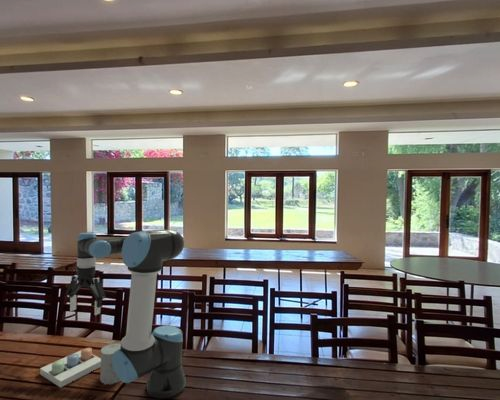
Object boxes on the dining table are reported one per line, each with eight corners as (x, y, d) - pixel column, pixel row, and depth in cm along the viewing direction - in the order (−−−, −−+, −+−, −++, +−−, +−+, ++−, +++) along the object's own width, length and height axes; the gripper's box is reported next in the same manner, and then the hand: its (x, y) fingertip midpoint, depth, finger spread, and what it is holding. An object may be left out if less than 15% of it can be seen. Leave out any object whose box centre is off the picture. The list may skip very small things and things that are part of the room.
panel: (103, 365, 130) (103, 359, 130) (60, 387, 114) (60, 381, 114) (82, 354, 138) (82, 349, 138) (40, 374, 122) (40, 368, 122)
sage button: (66, 372, 121) (66, 362, 121) (55, 378, 118) (55, 367, 117) (60, 369, 124) (60, 359, 123) (49, 374, 120) (49, 364, 120)
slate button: (80, 365, 127) (80, 355, 127) (70, 370, 123) (70, 360, 123) (75, 362, 129) (75, 352, 129) (64, 367, 125) (64, 357, 125)
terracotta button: (93, 359, 132) (94, 349, 132) (84, 364, 128) (84, 353, 128) (88, 356, 134) (88, 346, 134) (78, 360, 130) (78, 351, 130)
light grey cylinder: (129, 371, 126) (130, 343, 126) (117, 385, 116) (118, 355, 116) (108, 369, 127) (109, 341, 127) (94, 383, 117) (95, 353, 117)
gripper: (115, 266, 134) (113, 312, 134) (71, 262, 140) (70, 305, 140) (103, 270, 126) (101, 318, 127) (57, 265, 133) (56, 311, 133)
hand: (85, 312), depth 133 cm, fingers open, 13 cm apart
